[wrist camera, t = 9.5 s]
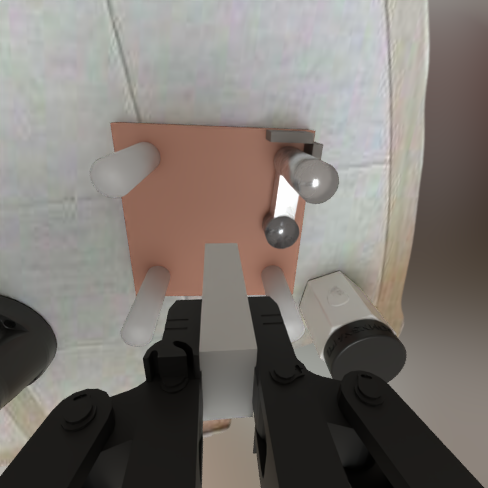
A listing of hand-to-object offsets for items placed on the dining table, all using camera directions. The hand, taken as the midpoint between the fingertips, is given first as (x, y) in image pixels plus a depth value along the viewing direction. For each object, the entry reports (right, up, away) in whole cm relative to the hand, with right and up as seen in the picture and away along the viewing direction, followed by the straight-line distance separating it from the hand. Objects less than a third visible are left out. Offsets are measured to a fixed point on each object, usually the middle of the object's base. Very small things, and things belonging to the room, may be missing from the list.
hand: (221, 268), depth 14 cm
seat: (-2, +5, +20) cm, 21 cm away
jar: (+13, -6, +27) cm, 30 cm away
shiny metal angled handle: (+5, +6, +17) cm, 19 cm away
